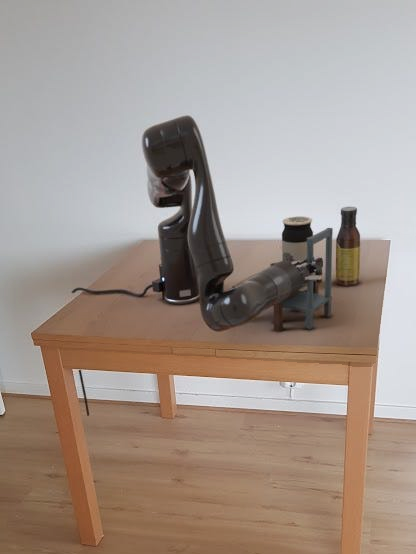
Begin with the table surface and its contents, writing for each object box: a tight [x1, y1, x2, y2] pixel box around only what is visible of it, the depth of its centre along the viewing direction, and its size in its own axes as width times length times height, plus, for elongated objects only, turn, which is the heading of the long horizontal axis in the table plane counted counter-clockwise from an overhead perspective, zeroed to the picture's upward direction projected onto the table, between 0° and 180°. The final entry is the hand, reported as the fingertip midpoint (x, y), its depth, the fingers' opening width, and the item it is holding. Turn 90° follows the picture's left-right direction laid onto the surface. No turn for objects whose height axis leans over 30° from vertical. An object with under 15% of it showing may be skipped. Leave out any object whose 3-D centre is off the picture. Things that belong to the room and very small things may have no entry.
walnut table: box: [231, 272, 320, 332], centre depth 165 cm, size 13×18×9 cm
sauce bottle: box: [335, 206, 361, 287], centre depth 178 cm, size 7×6×20 cm
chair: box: [282, 227, 334, 330], centre depth 158 cm, size 10×10×21 cm
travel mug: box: [281, 215, 314, 292], centre depth 178 cm, size 8×8×18 cm
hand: (316, 261), depth 152 cm, fingers closed
